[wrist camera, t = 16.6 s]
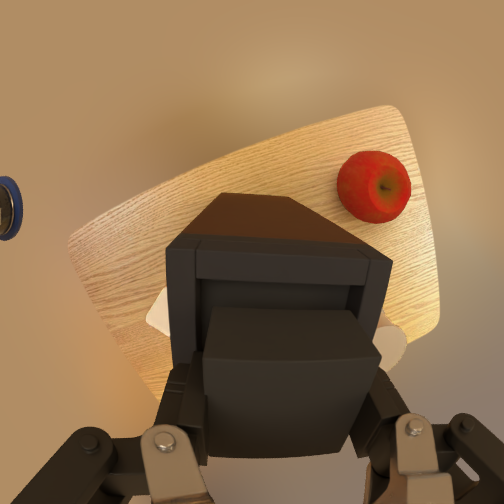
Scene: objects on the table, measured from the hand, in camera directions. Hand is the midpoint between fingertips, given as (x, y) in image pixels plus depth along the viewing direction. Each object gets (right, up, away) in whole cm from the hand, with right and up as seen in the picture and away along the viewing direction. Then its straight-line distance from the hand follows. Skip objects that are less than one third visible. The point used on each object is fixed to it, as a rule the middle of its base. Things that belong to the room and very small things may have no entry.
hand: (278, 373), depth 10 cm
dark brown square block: (0, 0, +1) cm, 1 cm away
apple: (+13, +14, +25) cm, 32 cm away
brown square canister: (-1, +8, +27) cm, 28 cm away
